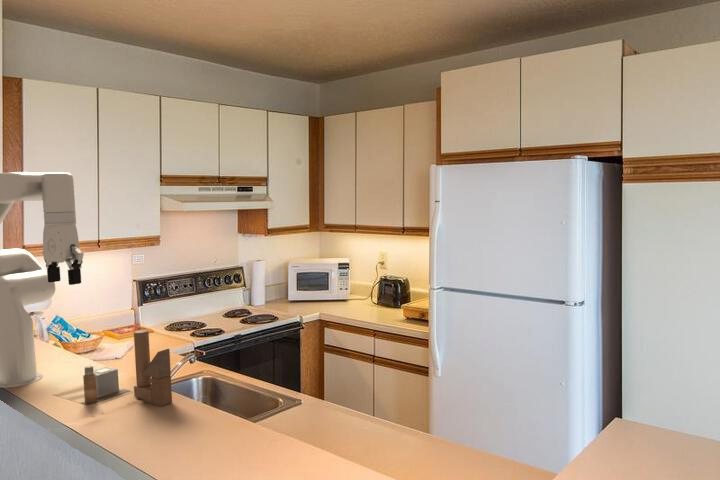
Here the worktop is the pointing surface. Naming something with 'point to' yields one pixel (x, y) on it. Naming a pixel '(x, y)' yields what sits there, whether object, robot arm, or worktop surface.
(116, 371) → the block
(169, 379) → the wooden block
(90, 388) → the grey-capped wooden cylinder
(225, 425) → the worktop surface
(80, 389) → the panel
